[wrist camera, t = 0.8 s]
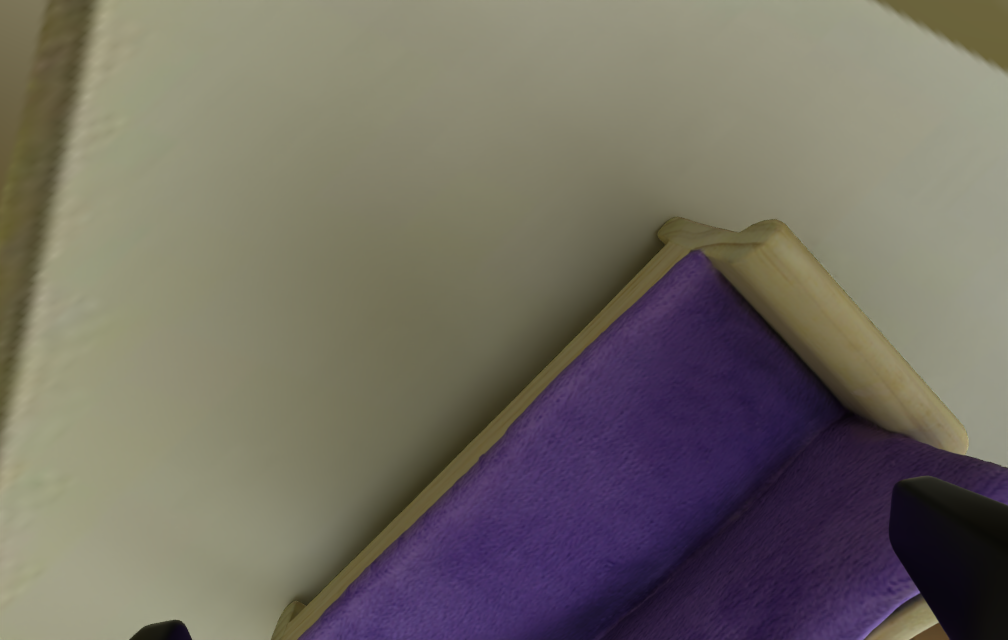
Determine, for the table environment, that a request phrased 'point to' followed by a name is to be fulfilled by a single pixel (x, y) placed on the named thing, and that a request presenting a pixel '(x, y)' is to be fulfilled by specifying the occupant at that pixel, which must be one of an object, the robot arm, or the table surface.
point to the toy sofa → (676, 474)
